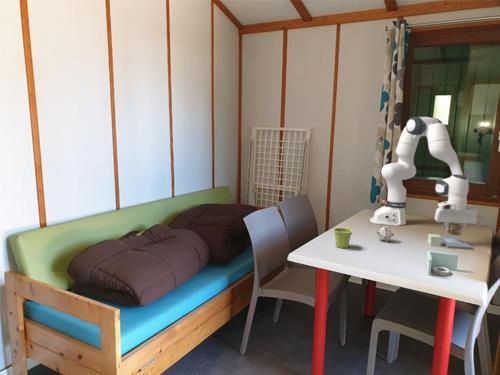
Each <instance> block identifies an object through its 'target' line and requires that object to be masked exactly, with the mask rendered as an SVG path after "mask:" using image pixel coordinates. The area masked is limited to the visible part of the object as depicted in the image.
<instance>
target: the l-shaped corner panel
mask: <svg viewBox="0 0 500 375" xmlns="http://www.w3.org/2000/svg"><path fill="white" fill-rule="evenodd" d="M426 252H427V253H426V264H425V267H426V268H425V269H426V271H427V275H428V276H430V277H431V274H432V273H433V272H434V273H433V274H436V275H439V276H444V277H446V276H449V275H451V271H454V272H455V271H457V270H458V269H457V268H458V259H459V254H455V253H448V252H441V251H432V250H427V251H426Z"/></svg>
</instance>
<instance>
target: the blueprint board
mask: <svg viewBox="0 0 500 375" xmlns="http://www.w3.org/2000/svg"><path fill="white" fill-rule="evenodd" d="M438 235H439V236H441V237H442V238H441V245H443V246H445V248H447V249H454V250H455V249H459V250H471V251H472V250H473V246H472V245H471V244H469V243H467V242H466V241H465V240H463V239H461V238H460V237H459V236H458V235H441V234H438Z"/></svg>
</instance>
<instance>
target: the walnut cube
mask: <svg viewBox="0 0 500 375" xmlns="http://www.w3.org/2000/svg"><path fill="white" fill-rule="evenodd" d="M447 225H448V227H450V231H447V230H446V231H447V233H448V234H449V235H450V236H462V231H461V229H462V224H461V225H460V223H449V224H447Z"/></svg>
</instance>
